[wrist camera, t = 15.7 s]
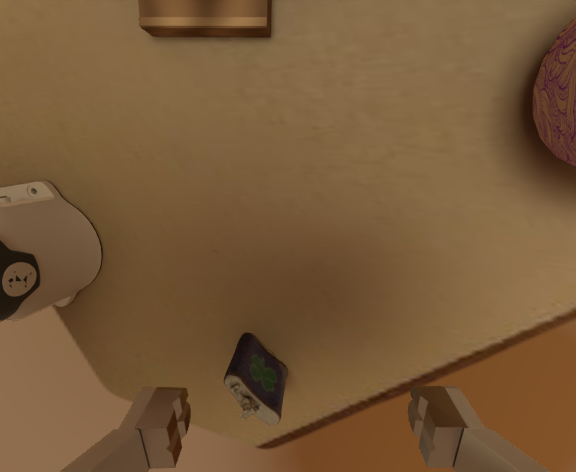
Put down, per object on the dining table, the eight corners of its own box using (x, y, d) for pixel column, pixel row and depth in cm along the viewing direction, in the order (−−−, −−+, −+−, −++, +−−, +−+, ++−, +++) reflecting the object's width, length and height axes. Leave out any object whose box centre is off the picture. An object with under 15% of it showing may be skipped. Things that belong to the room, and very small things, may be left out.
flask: (291, 370, 45) (282, 433, 35) (277, 380, 46) (264, 445, 36) (248, 328, 44) (226, 381, 34) (235, 339, 45) (209, 394, 35)
